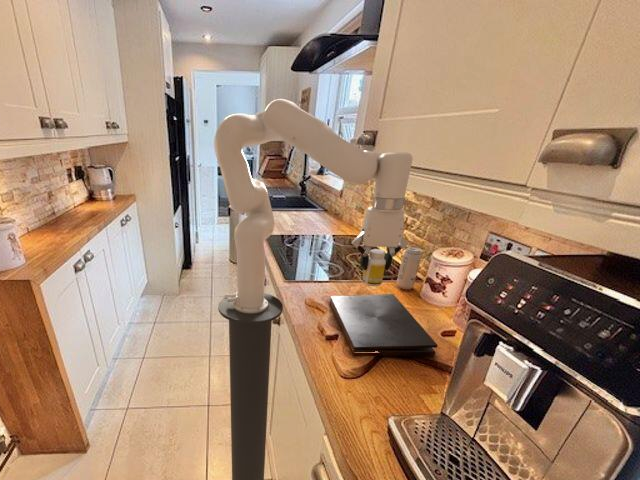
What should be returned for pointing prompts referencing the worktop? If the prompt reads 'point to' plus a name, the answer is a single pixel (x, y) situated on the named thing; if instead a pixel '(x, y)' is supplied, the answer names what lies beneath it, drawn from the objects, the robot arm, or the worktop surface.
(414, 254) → the energy drink can
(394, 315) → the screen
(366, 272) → the supplement bottle
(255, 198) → the robot arm
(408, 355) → the laptop
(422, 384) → the worktop surface
